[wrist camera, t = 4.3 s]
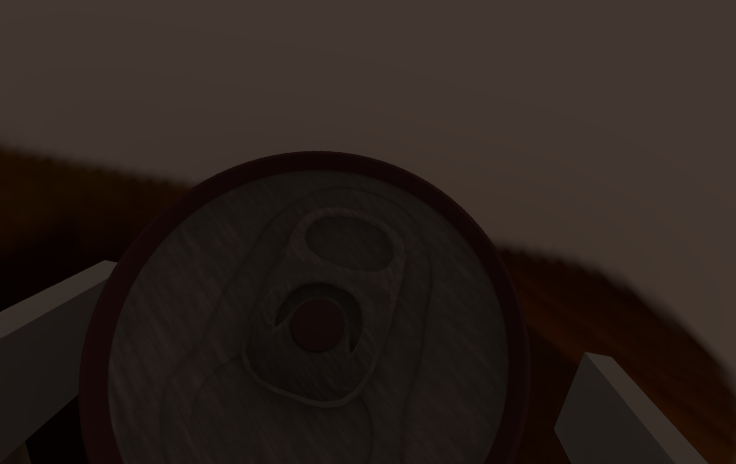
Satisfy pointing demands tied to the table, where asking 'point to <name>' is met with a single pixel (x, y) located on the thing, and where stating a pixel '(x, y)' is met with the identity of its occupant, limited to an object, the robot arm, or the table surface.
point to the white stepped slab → (18, 456)
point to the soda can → (307, 326)
